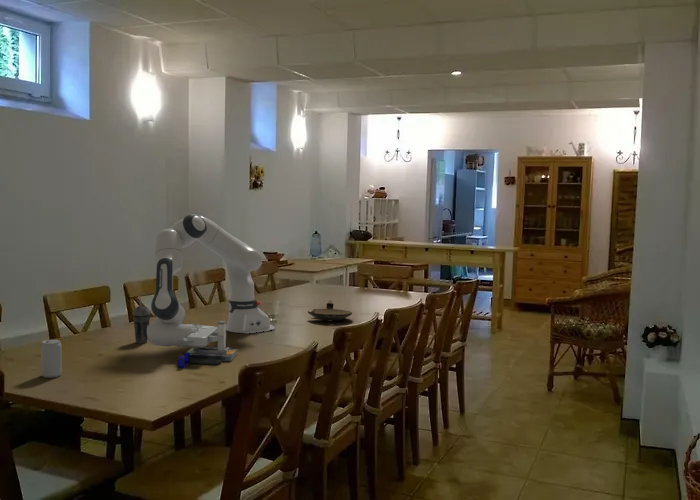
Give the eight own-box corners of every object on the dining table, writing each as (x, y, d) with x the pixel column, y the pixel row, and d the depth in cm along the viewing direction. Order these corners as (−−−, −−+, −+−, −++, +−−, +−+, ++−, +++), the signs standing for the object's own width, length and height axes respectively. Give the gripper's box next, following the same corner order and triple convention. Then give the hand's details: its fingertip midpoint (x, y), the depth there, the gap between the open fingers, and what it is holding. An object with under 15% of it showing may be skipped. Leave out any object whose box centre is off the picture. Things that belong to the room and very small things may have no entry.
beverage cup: (154, 341, 276) (154, 294, 275) (143, 344, 270) (143, 297, 268) (139, 339, 279) (139, 293, 277) (128, 343, 272) (128, 295, 270)
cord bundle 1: (201, 351, 262) (201, 347, 262) (203, 349, 265) (203, 345, 265) (230, 352, 262) (230, 348, 261) (232, 350, 265) (232, 347, 264)
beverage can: (45, 373, 225) (44, 339, 224) (64, 373, 225) (64, 339, 224) (38, 378, 218) (37, 343, 217) (57, 378, 219) (57, 343, 218)
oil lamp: (300, 322, 326) (300, 307, 326) (322, 313, 355) (322, 299, 354) (342, 326, 319) (343, 311, 319) (361, 316, 348) (361, 302, 347)
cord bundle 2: (188, 363, 242) (188, 360, 242) (190, 361, 245) (190, 358, 245) (219, 365, 242) (220, 361, 241) (221, 363, 245) (221, 359, 244)
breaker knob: (217, 352, 251) (218, 322, 250) (219, 350, 254) (219, 320, 253) (223, 352, 251) (224, 322, 250) (225, 350, 254) (226, 321, 253)
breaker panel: (183, 359, 248) (183, 350, 247) (192, 352, 260) (192, 343, 259) (230, 361, 247) (230, 352, 247) (237, 354, 259) (237, 345, 259)
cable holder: (180, 362, 244) (180, 352, 244) (189, 363, 244) (189, 352, 244) (174, 368, 236) (174, 357, 236) (184, 368, 236) (184, 357, 236)
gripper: (180, 333, 242) (217, 334, 242) (196, 322, 263) (230, 323, 262) (180, 350, 243) (217, 351, 242) (195, 338, 263) (229, 339, 263)
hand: (224, 337), depth 252 cm, fingers open, 4 cm apart
